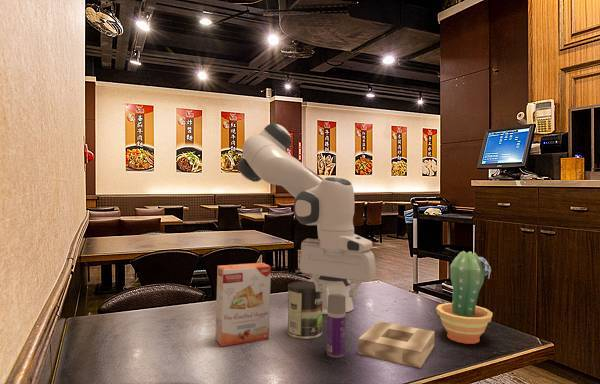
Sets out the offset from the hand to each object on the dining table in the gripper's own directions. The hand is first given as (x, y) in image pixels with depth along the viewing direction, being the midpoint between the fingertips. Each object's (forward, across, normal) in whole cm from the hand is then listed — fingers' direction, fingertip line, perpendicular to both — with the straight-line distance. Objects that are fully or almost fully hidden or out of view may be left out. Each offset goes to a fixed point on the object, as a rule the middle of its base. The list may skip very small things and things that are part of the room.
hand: (335, 294), depth 107 cm
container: (+16, 0, 0) cm, 16 cm away
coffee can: (+16, -14, +9) cm, 23 cm away
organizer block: (+16, +13, +11) cm, 23 cm away
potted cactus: (+16, +27, +30) cm, 44 cm away
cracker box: (+16, -26, -5) cm, 31 cm away
